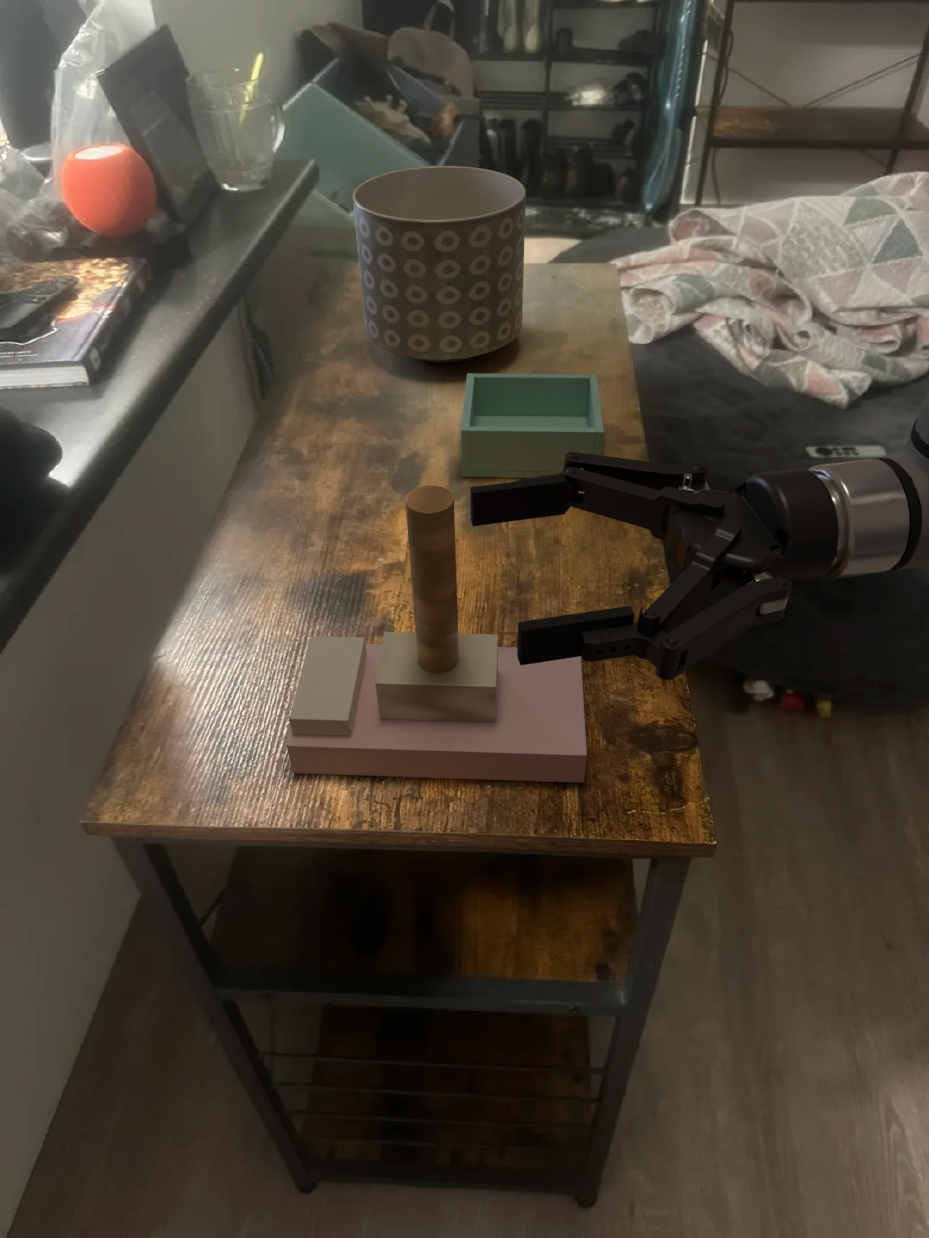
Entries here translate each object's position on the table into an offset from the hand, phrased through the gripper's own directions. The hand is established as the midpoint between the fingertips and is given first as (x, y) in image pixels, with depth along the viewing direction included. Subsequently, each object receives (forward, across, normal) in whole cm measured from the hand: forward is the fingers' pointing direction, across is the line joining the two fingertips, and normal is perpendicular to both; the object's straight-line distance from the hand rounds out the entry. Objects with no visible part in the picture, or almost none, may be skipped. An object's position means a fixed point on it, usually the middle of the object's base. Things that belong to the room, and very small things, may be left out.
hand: (492, 569), depth 54 cm
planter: (-7, +60, -14) cm, 62 cm away
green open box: (-12, +36, -14) cm, 40 cm away
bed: (+4, 0, -14) cm, 15 cm away
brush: (+4, +1, -11) cm, 12 cm away
